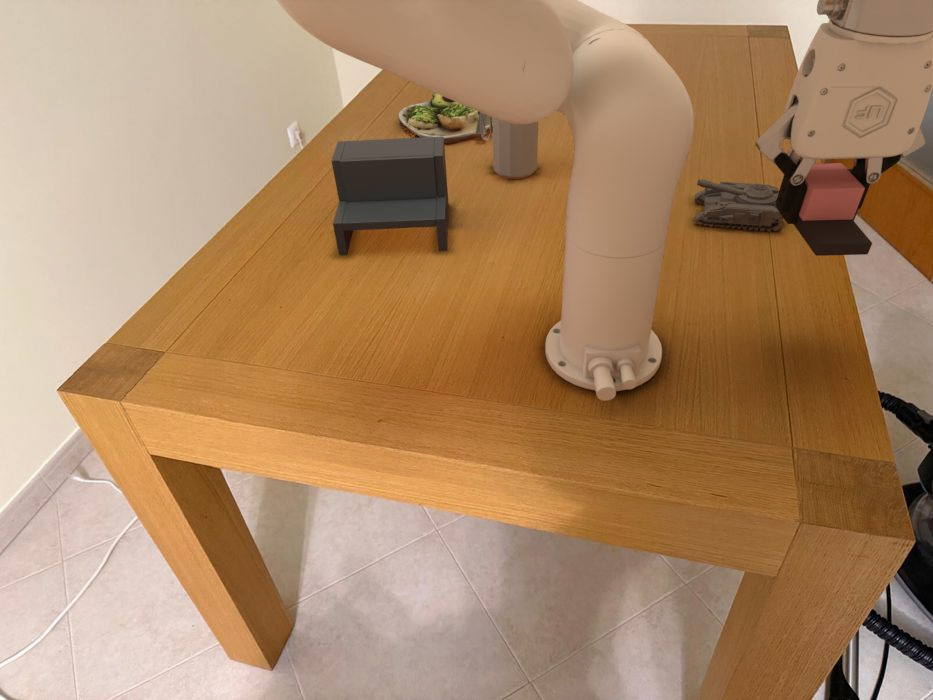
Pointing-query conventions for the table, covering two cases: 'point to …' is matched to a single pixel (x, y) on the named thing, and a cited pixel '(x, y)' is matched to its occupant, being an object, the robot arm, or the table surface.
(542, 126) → the table surface
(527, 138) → the water bottle
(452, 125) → the salad plate
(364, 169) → the bench
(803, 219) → the pink cube on slab
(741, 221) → the tank toy
